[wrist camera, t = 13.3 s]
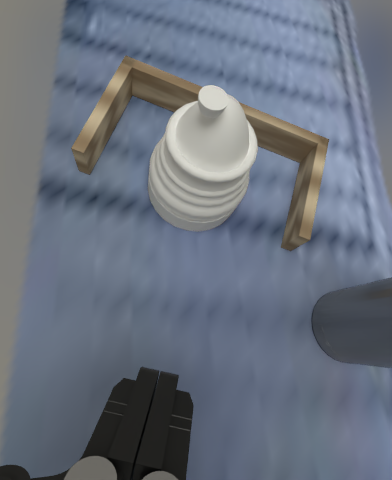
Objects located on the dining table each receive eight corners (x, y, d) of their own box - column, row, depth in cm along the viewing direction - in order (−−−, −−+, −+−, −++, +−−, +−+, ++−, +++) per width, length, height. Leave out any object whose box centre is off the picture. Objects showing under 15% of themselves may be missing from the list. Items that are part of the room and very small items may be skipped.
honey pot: (183, 249, 39) (218, 181, 22) (129, 174, 41) (124, 60, 24) (254, 202, 43) (328, 116, 27) (202, 136, 45) (241, 17, 28)
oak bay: (290, 251, 42) (310, 240, 37) (79, 170, 40) (71, 148, 35) (310, 158, 48) (328, 139, 43) (126, 84, 46) (125, 55, 41)
